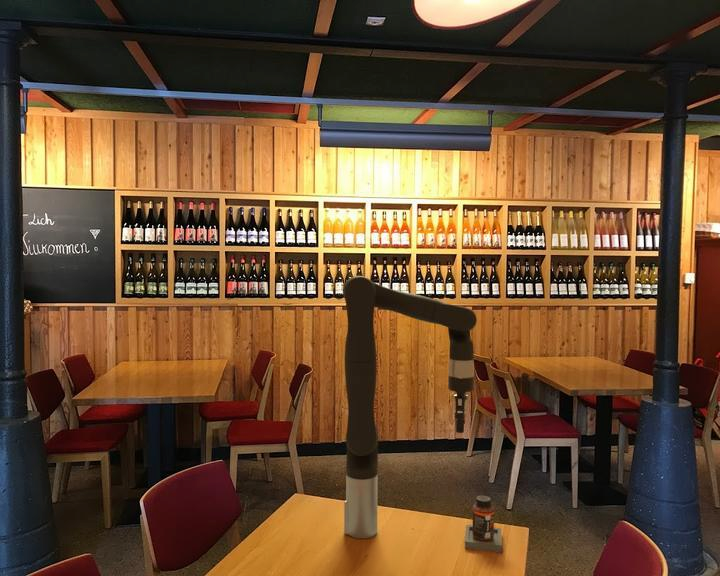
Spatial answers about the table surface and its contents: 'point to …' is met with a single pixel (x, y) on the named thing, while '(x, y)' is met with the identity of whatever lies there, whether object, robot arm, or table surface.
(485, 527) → the supplement bottle
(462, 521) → the table surface
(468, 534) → the gray square tray
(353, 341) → the robot arm
